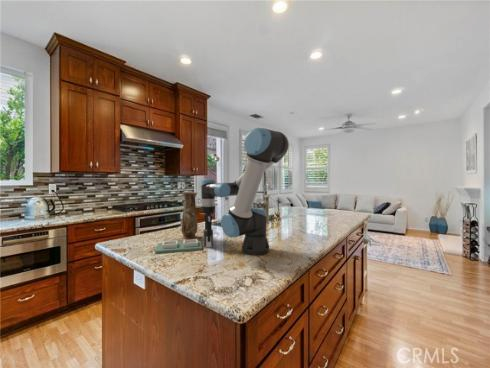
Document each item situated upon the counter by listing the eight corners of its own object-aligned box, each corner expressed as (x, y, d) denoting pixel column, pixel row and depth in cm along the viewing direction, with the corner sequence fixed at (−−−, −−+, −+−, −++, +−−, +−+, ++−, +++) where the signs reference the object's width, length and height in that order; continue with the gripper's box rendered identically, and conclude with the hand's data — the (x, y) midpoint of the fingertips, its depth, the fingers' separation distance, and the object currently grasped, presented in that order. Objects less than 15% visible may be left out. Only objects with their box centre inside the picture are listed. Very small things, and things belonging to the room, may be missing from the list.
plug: (212, 244, 136) (212, 228, 136) (212, 246, 132) (212, 230, 132) (203, 244, 135) (203, 228, 134) (204, 246, 131) (204, 230, 131)
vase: (187, 234, 157) (187, 191, 156) (200, 236, 153) (200, 191, 152) (177, 238, 147) (177, 192, 146) (192, 240, 144) (192, 192, 142)
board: (200, 242, 139) (200, 237, 139) (202, 249, 126) (202, 244, 126) (158, 245, 133) (158, 239, 133) (155, 253, 120) (155, 247, 119)
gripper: (200, 203, 141) (200, 240, 142) (202, 208, 122) (202, 251, 123) (212, 203, 143) (212, 240, 144) (217, 208, 124) (216, 250, 125)
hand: (208, 245), depth 134 cm, fingers open, 7 cm apart
